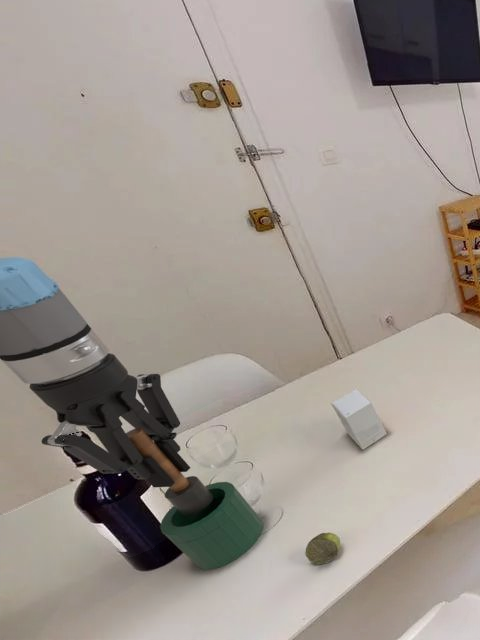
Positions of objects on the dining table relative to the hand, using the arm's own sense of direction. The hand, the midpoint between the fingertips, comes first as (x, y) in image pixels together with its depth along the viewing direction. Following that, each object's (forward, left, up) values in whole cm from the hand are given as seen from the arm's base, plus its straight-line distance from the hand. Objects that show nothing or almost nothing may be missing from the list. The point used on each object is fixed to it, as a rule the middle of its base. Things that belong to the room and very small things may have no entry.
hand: (172, 477), depth 67 cm
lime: (+20, -3, -19) cm, 28 cm away
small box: (+12, +24, -19) cm, 33 cm away
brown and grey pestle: (0, 0, -7) cm, 7 cm away
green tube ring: (0, 0, -19) cm, 19 cm away
